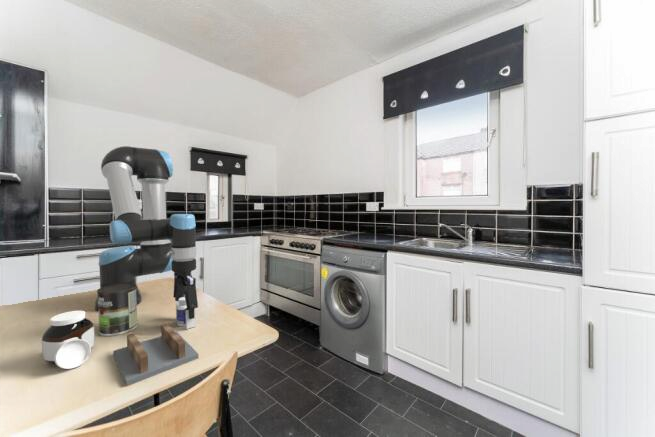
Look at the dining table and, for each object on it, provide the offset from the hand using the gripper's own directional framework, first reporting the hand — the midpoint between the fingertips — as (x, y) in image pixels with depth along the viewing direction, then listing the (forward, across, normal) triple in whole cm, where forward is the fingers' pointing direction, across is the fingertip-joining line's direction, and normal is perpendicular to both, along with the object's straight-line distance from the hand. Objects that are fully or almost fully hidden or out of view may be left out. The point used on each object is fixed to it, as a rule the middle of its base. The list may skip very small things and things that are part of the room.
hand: (185, 322), depth 96 cm
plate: (0, +16, -13) cm, 21 cm away
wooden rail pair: (-1, +16, -13) cm, 21 cm away
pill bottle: (0, 0, 0) cm, 0 cm away
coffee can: (0, -11, -17) cm, 20 cm away
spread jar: (0, +2, -29) cm, 29 cm away
